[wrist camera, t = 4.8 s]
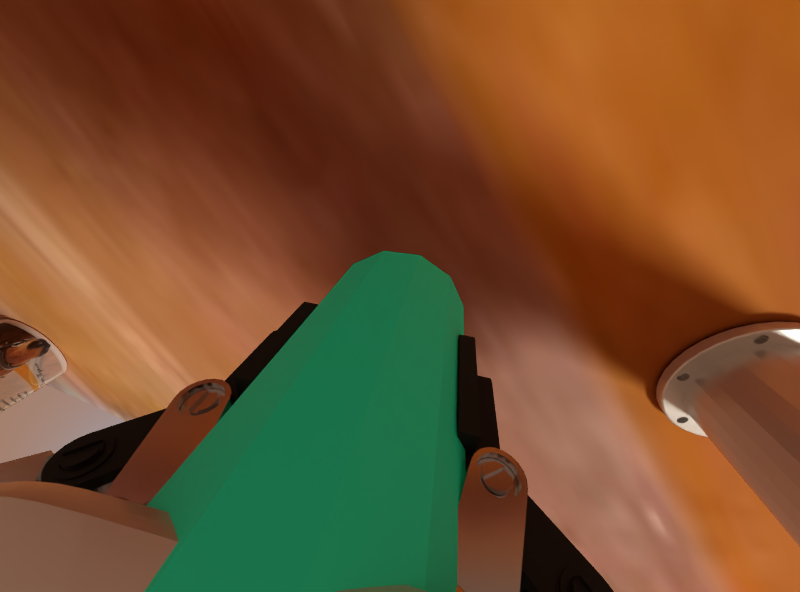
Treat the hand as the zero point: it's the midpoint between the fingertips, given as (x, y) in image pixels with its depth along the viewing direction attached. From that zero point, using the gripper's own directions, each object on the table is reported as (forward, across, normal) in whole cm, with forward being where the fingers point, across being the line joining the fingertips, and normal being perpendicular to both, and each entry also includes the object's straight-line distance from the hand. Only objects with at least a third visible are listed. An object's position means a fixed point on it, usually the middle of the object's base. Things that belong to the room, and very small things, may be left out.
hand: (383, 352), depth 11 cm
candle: (+3, 0, 0) cm, 3 cm away
